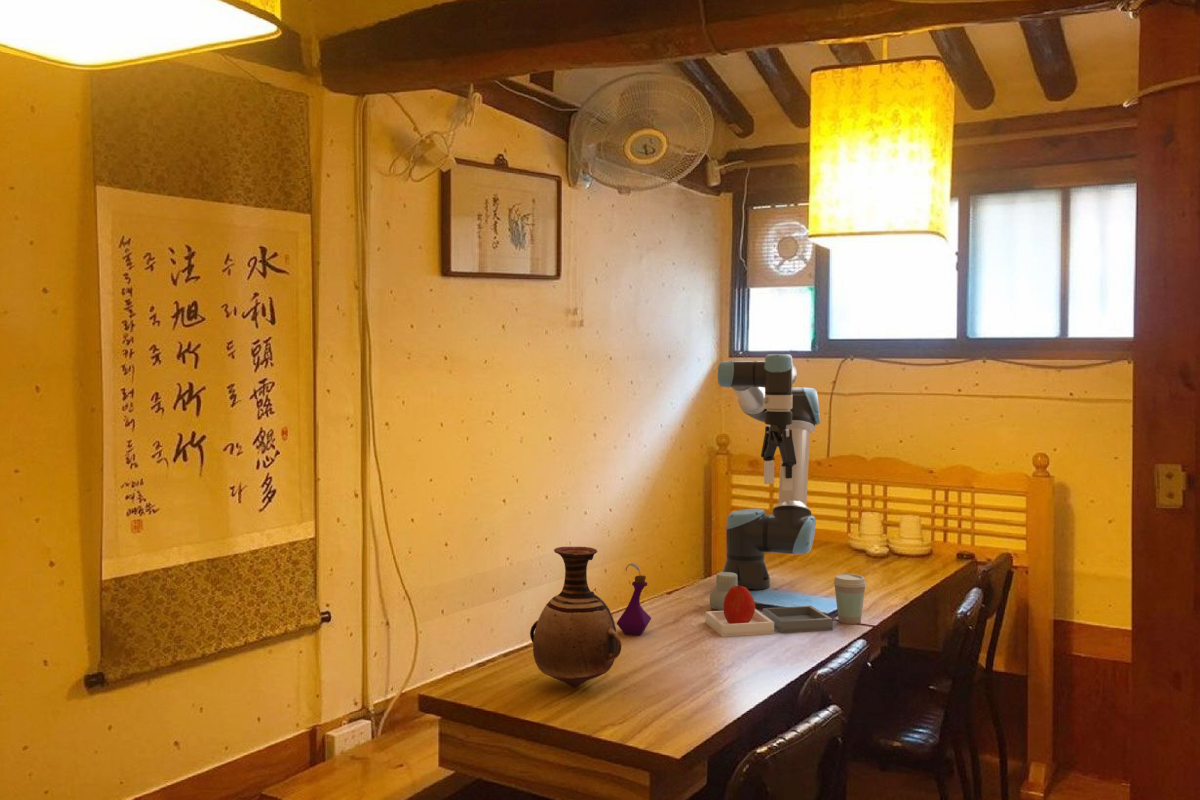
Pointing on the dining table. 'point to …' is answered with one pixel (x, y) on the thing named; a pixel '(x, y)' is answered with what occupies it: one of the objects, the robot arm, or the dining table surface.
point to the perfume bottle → (635, 609)
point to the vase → (575, 627)
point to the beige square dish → (739, 624)
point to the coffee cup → (849, 597)
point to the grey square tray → (798, 619)
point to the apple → (738, 605)
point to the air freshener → (722, 589)
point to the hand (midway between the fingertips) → (777, 487)
